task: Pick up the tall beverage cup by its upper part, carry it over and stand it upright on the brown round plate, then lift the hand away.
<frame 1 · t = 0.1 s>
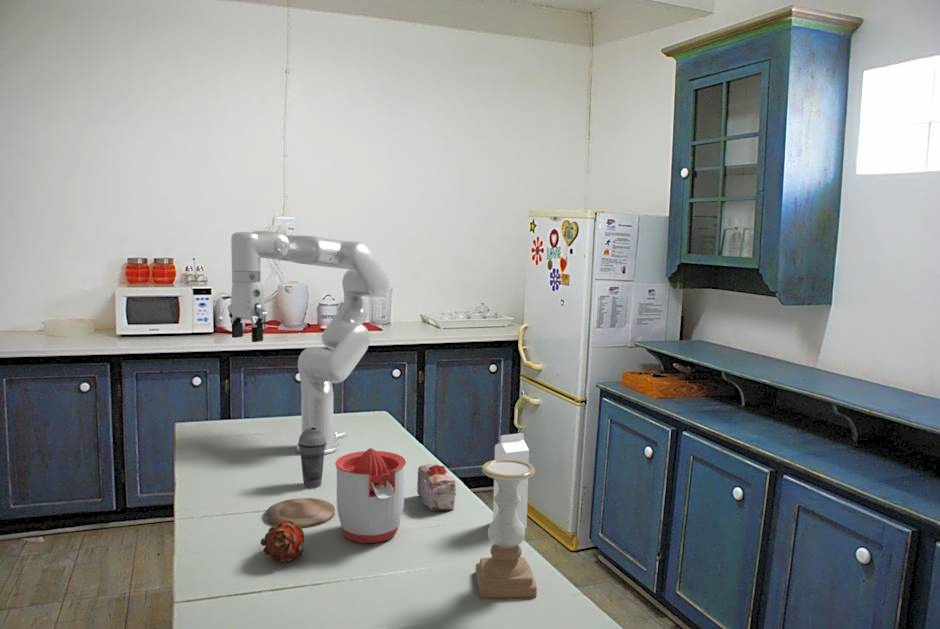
hand: (247, 339, 207), 37 cm above the table, tool pointing down, fingers open, 9 cm apart
citrus juicer: (371, 536, 168), on the table
beverage cup: (312, 485, 199), on the table
dragon fruit: (283, 558, 157), on the table
food item: (435, 504, 188), on the table
candle holder: (505, 585, 147), on the table
milk: (509, 526, 176), on the table
brown round plate: (300, 514, 179), on the table
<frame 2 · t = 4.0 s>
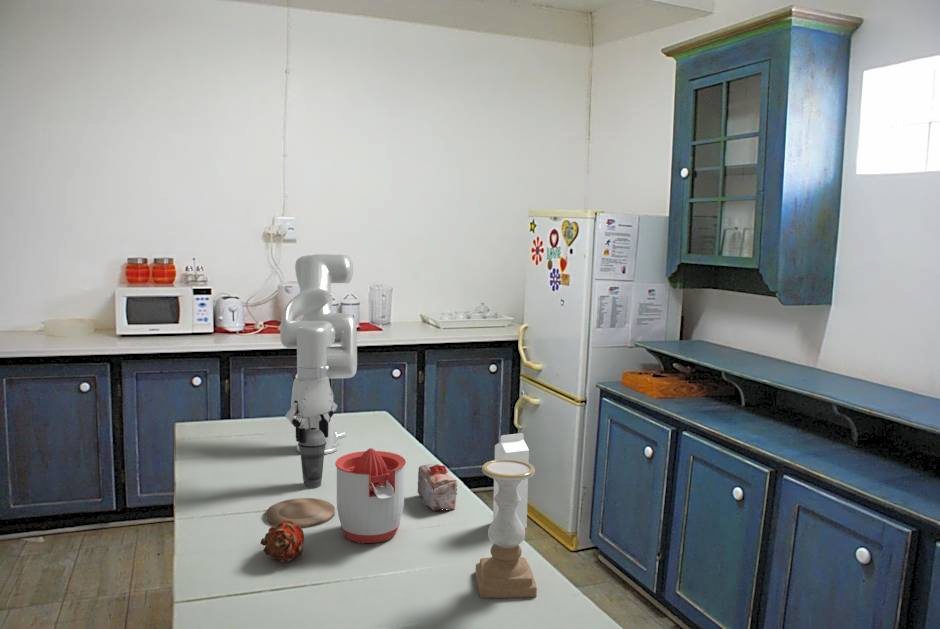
hand: (312, 438, 197), 13 cm above the table, tool pointing down, fingers closed on beverage cup, 6 cm apart
beverage cup: (312, 485, 199), on the table, touching gripper
everything else where it was.
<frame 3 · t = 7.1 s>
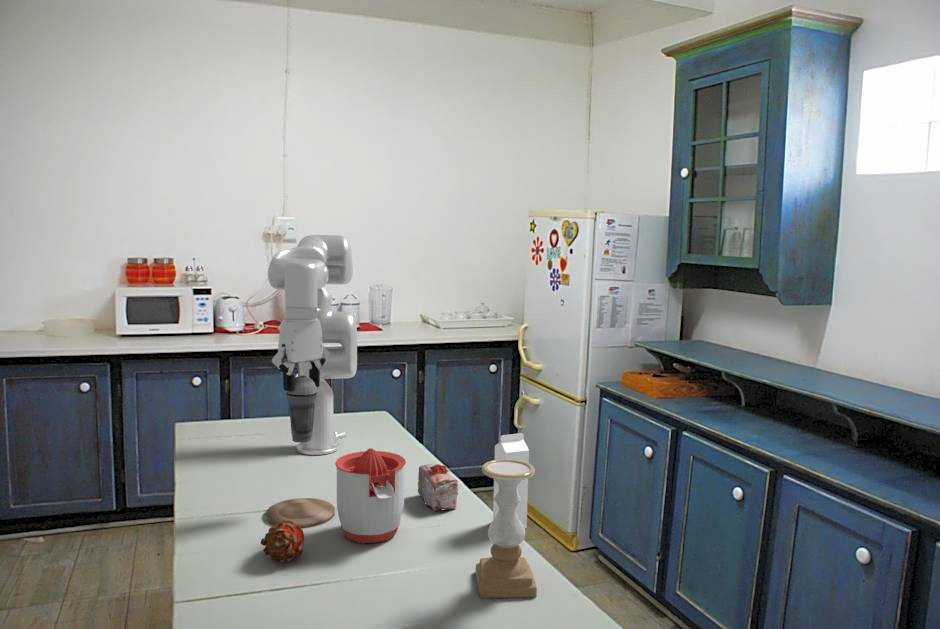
hand: (301, 387, 178), 30 cm above the table, tool pointing down, fingers closed on beverage cup, 6 cm apart
beverage cup: (301, 440, 180), point 17 cm above the table, touching gripper
everything else where it was.
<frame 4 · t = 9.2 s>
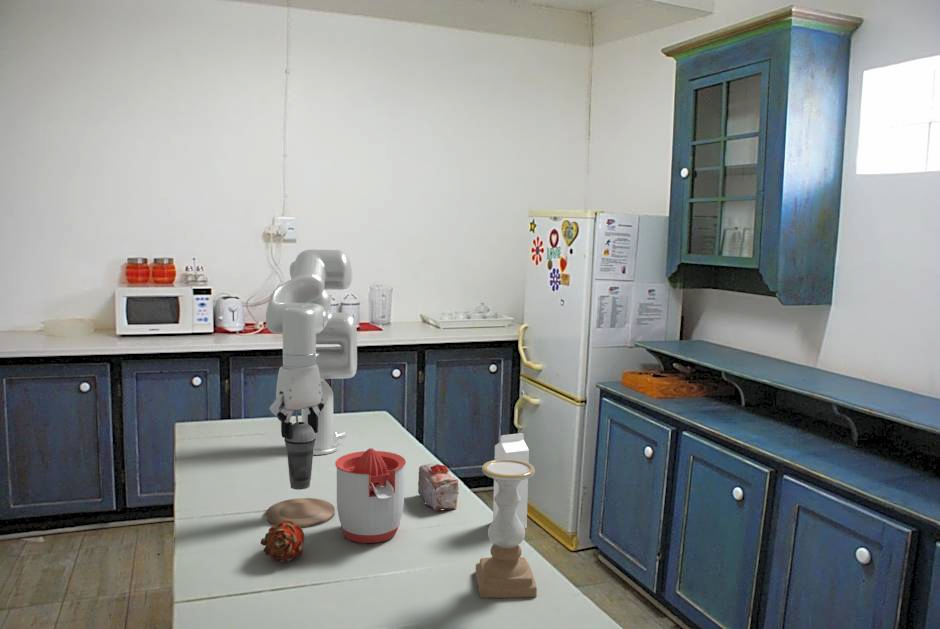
hand: (300, 434, 177), 20 cm above the table, tool pointing down, fingers closed on beverage cup, 6 cm apart
beverage cup: (300, 487, 178), point 7 cm above the table, touching gripper
everything else where it was.
when the fingers open (15 cm above the table, at t = 10.7 s): beverage cup drops 1 cm, resting on brown round plate.
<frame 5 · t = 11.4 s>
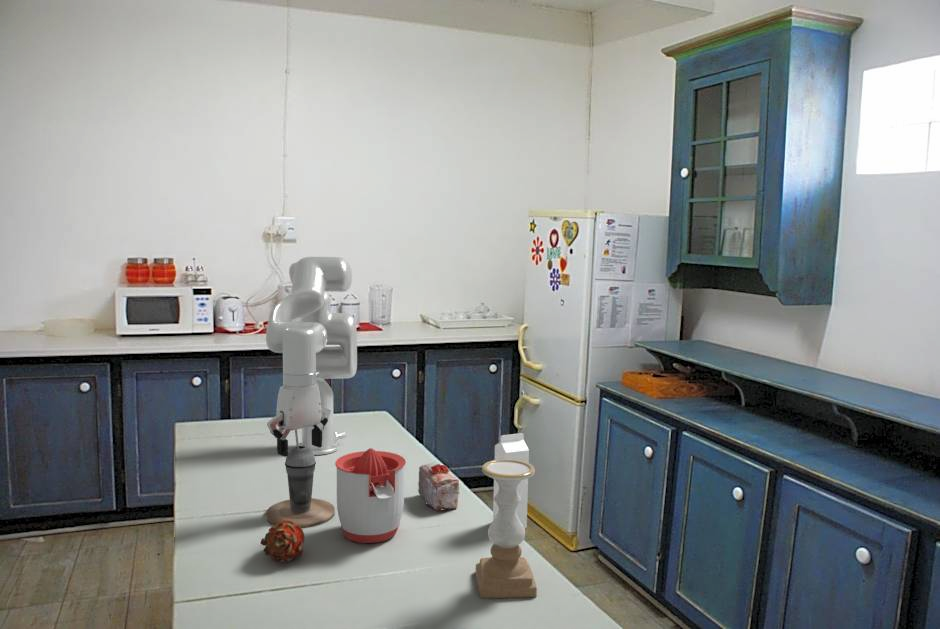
hand: (300, 450, 177), 16 cm above the table, tool pointing down, fingers open, 9 cm apart
beverage cup: (300, 510, 179), point 1 cm above the table, touching brown round plate
everything else where it was.
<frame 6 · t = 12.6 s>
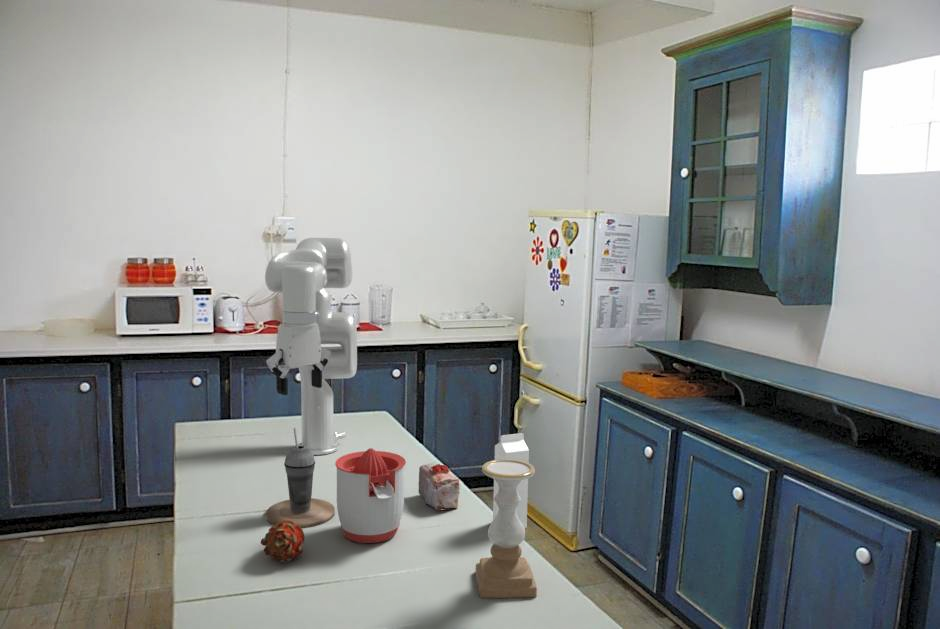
hand: (299, 390, 176), 30 cm above the table, tool pointing down, fingers open, 9 cm apart
nothing on the table moved.
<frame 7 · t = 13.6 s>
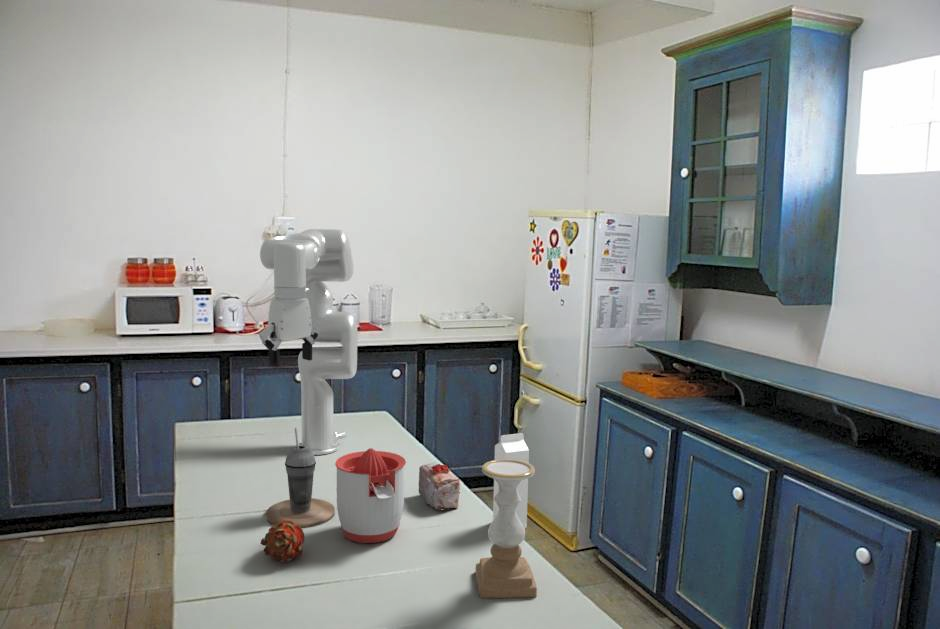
hand: (291, 362, 184), 35 cm above the table, tool pointing down, fingers open, 9 cm apart
nothing on the table moved.
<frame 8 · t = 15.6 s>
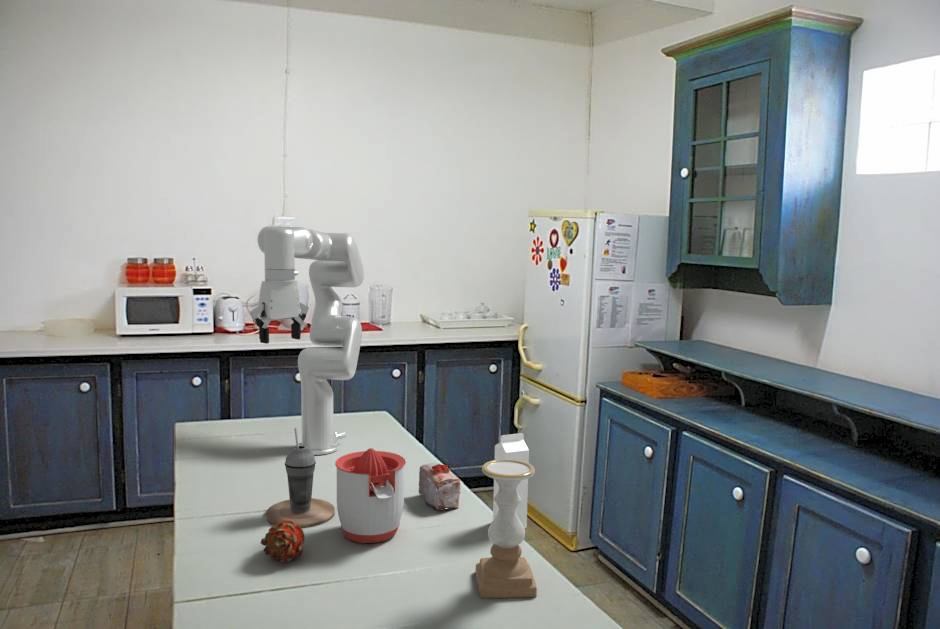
hand: (280, 340, 196), 38 cm above the table, tool pointing down, fingers open, 9 cm apart
at the end: beverage cup inside the target area on the brown round plate (0.2 cm from its centre), point 0.9 cm above the brown round plate's base; beverage cup tilted 1°; the gripper is holding nothing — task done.
